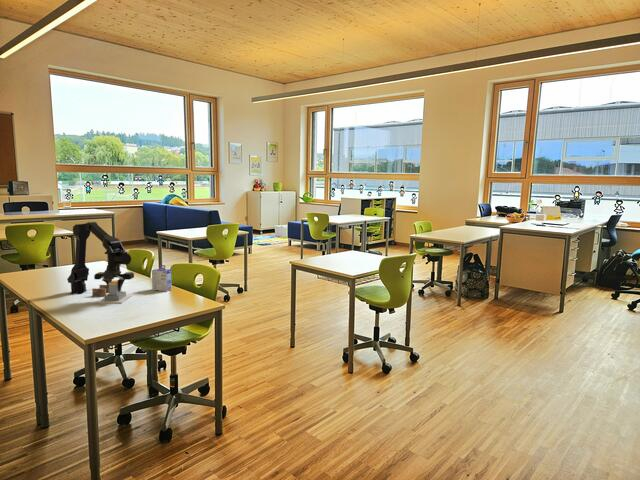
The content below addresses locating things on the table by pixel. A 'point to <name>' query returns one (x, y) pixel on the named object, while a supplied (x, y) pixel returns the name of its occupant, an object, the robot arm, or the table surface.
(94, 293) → the wooden blocks
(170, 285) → the ink cartridge box
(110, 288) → the plug
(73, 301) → the table surface
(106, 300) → the dock
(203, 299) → the table surface
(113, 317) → the table surface
